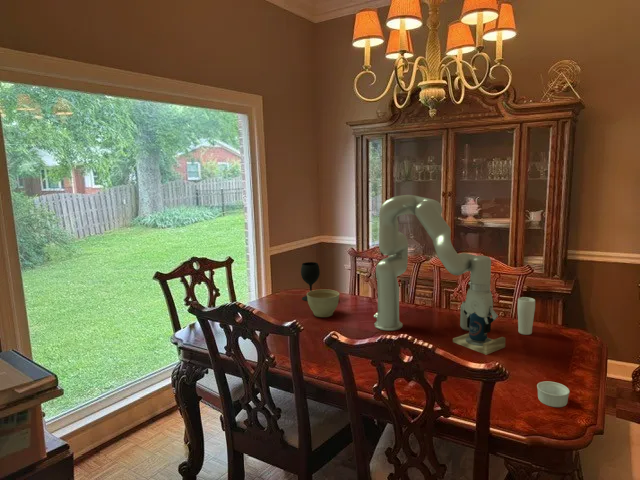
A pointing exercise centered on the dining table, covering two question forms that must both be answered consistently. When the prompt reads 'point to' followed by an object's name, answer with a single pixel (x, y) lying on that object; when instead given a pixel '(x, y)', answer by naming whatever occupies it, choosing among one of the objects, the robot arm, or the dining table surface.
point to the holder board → (481, 344)
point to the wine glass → (310, 274)
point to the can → (463, 319)
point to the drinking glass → (525, 315)
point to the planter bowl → (323, 302)
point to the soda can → (477, 328)
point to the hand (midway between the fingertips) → (478, 329)
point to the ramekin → (552, 393)
